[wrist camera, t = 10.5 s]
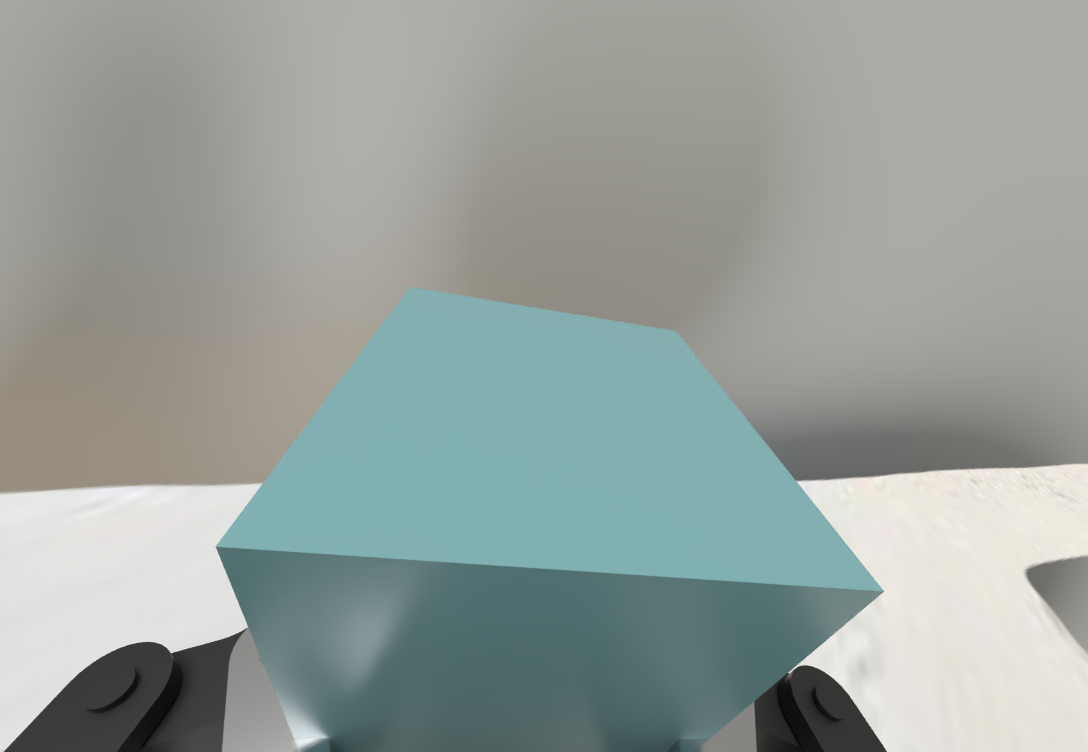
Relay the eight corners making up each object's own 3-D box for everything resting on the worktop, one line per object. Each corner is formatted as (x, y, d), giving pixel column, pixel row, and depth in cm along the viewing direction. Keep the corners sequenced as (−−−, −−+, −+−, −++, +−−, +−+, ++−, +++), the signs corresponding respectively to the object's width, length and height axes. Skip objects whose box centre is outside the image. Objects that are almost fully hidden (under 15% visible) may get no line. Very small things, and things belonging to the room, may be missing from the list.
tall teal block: (339, 850, 9) (216, 546, 3) (406, 591, 14) (410, 286, 8) (588, 841, 10) (884, 592, 4) (565, 599, 15) (676, 331, 9)
